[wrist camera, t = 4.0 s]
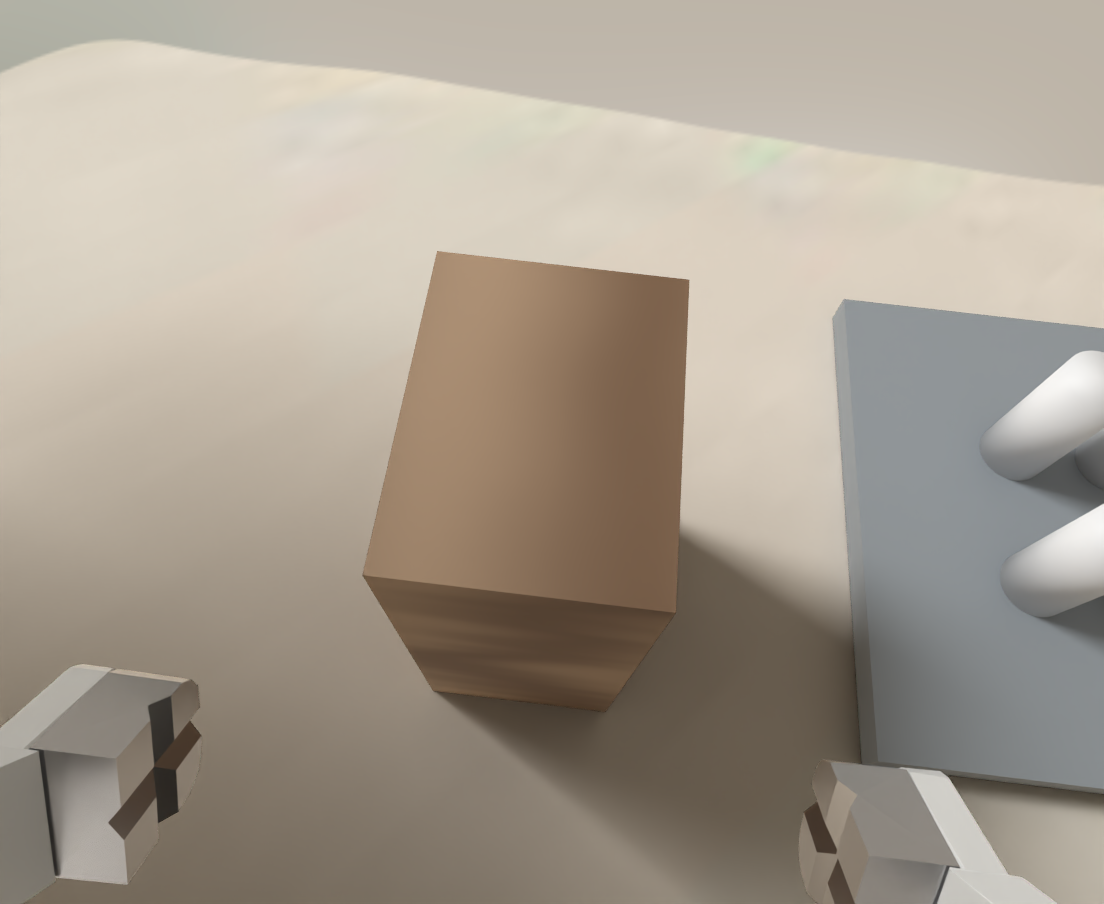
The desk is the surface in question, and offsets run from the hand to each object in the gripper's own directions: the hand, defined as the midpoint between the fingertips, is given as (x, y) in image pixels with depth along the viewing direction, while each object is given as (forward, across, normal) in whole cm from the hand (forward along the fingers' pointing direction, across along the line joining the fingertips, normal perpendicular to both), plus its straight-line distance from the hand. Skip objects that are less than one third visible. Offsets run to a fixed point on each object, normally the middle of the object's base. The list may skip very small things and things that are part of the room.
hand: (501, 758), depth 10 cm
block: (+11, 0, +3) cm, 11 cm away
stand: (+13, -15, +1) cm, 20 cm away
